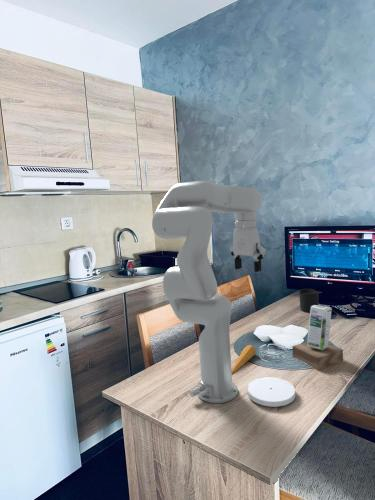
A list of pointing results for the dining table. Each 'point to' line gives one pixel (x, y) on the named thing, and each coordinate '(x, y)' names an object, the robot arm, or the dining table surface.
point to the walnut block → (318, 355)
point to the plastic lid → (271, 391)
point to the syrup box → (319, 327)
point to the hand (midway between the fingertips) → (247, 270)
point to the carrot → (244, 357)
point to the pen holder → (308, 299)
